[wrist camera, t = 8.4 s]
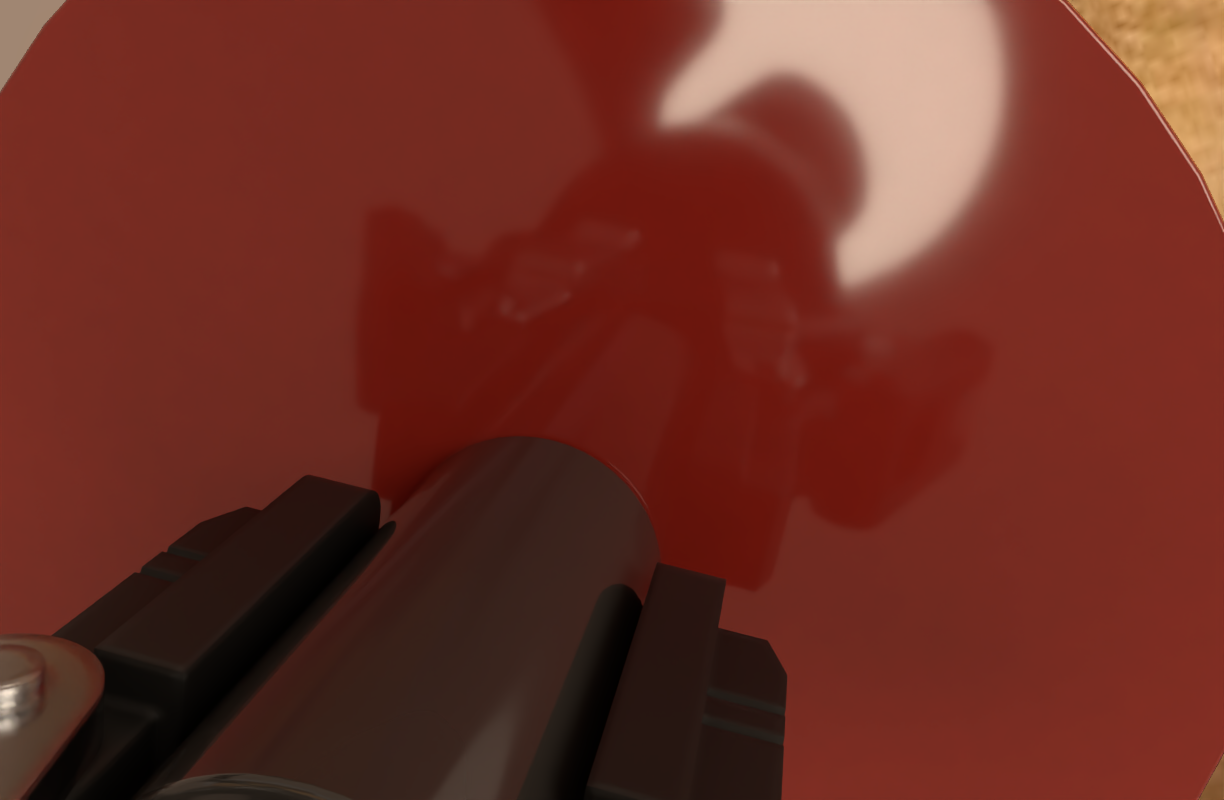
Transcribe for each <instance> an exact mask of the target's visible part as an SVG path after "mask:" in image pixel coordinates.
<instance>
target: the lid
mask: <svg viewBox="0 0 1224 800" xmlns="http://www.w3.org/2000/svg"><path fill="white" fill-rule="evenodd" d="M305 475H313V476H317V477H321V478H325V479H329V480H333V481H337V482H341V483H345V484H349V485H353V486H357V487H361V488H365V489H369V490H373V491H376V492H377V493H378V495H379V498H380V504H381V513H380V524H379V530H378V531H377V532H376V533H375V534H374V535H373V536H372V537H371V538H370V540H369V541H368V542H367V543H366V544H365V545H364V546H363V547H362V548H361V549H360V550H359V551H358V553H357V554H356V555H355V556H354V557H353V558H352V559H351V560H350V561H349V562H348V563H347V564H346V566H345V567H344V568H343V569H342V570H341V571H340V572H339V573H338V574H337V575H336V576H335V577H334V578H333V580H332V581H331V582H330V583H329V584H328V585H327V586H326V587H325V588H324V589H323V590H322V591H321V593H320V594H319V595H318V596H317V597H316V598H315V599H314V600H313V601H312V602H311V603H310V604H309V605H308V607H307V608H306V609H305V610H304V611H303V612H302V613H301V614H300V615H299V616H298V617H297V618H296V620H295V621H294V622H293V623H292V624H291V625H290V626H289V627H288V628H287V629H286V630H285V631H284V632H283V634H282V635H281V636H280V637H279V638H278V639H277V640H276V641H275V642H274V643H273V644H272V645H271V647H270V648H269V649H268V650H267V651H266V652H265V653H264V654H263V655H262V656H261V657H260V658H259V660H258V661H257V662H256V663H255V664H254V665H253V666H252V667H251V668H250V669H249V670H248V671H247V672H246V674H245V675H244V676H243V677H242V678H241V679H240V680H239V681H238V682H237V683H236V684H235V685H234V687H233V688H232V689H231V690H230V691H229V692H228V693H227V694H226V695H225V696H224V697H223V698H222V699H221V701H220V702H219V703H218V704H217V705H216V706H215V707H214V708H213V709H212V710H211V711H210V712H209V714H208V715H207V716H206V717H205V718H204V719H203V720H202V721H201V722H200V723H199V724H198V725H197V726H196V728H195V729H194V730H193V731H192V732H191V733H190V734H189V735H188V736H187V737H186V738H185V739H184V741H183V742H182V743H181V744H180V745H179V746H178V747H177V748H176V749H175V750H174V751H173V752H172V754H171V755H170V756H169V757H168V758H167V759H166V760H165V761H164V762H163V763H162V764H161V765H160V766H159V768H158V769H157V770H156V771H155V772H154V773H153V774H152V775H151V776H150V777H149V778H148V779H147V781H146V782H145V783H144V784H143V785H142V786H141V787H140V788H139V789H138V790H137V791H136V792H135V793H134V795H133V796H132V797H131V798H130V799H129V800H583V799H584V794H585V789H586V785H587V782H588V778H589V775H590V772H591V769H592V766H593V763H594V759H595V756H596V753H597V750H598V747H599V744H600V741H601V737H602V734H603V731H604V728H605V725H606V722H607V718H608V715H609V712H610V709H611V706H612V703H613V699H614V696H615V693H616V690H617V687H618V684H619V680H620V677H621V674H622V671H623V668H624V665H625V662H626V658H627V655H628V652H629V649H630V646H631V643H632V639H633V636H634V633H635V630H636V627H637V624H638V620H639V617H640V614H641V611H642V608H643V605H644V601H645V598H646V595H647V592H648V589H649V586H650V583H651V579H652V576H653V573H654V570H655V567H656V564H657V562H659V563H663V564H667V565H671V566H675V567H679V568H683V569H687V570H691V571H695V572H699V573H703V574H707V575H711V576H715V577H719V578H723V579H726V586H725V591H724V597H723V603H722V609H721V614H720V620H719V626H718V628H721V629H725V630H729V631H733V632H737V633H741V634H745V635H749V636H753V637H757V638H761V639H764V640H768V642H769V643H770V645H771V647H772V649H773V650H774V652H775V654H776V656H777V657H778V659H779V661H780V663H781V665H782V666H783V668H784V670H785V672H786V673H787V694H786V710H785V715H784V716H785V735H784V742H783V746H784V756H783V777H782V798H781V800H1198V799H1199V797H1200V796H1201V794H1202V792H1203V790H1204V788H1205V786H1206V785H1207V783H1208V781H1209V779H1210V777H1211V776H1212V774H1213V772H1214V770H1215V768H1216V766H1217V765H1218V763H1219V761H1220V759H1221V757H1222V756H1223V754H1224V220H1223V218H1222V216H1221V214H1220V212H1219V210H1218V207H1217V205H1216V203H1215V201H1214V199H1213V197H1212V194H1211V192H1210V190H1209V188H1208V186H1207V184H1206V181H1205V179H1204V177H1203V175H1202V173H1201V171H1200V170H1199V168H1198V167H1197V165H1196V164H1195V162H1194V161H1193V159H1192V158H1191V156H1190V155H1189V153H1188V152H1187V150H1186V149H1185V147H1184V146H1183V144H1182V143H1181V141H1180V140H1179V138H1178V137H1177V135H1176V134H1175V132H1174V131H1173V129H1172V128H1171V126H1170V125H1169V123H1168V122H1167V120H1166V118H1165V117H1164V115H1163V114H1162V112H1161V111H1160V109H1159V108H1158V106H1157V105H1156V103H1155V102H1154V100H1153V99H1152V97H1151V96H1150V94H1149V93H1148V91H1147V90H1146V88H1145V87H1144V85H1143V84H1142V82H1141V81H1140V80H1139V79H1138V78H1137V77H1136V76H1135V74H1134V73H1133V72H1132V71H1131V70H1130V69H1129V68H1128V67H1127V66H1126V64H1125V63H1124V62H1123V61H1122V60H1121V59H1120V58H1119V57H1118V56H1117V55H1116V53H1115V52H1114V51H1113V50H1112V49H1111V48H1110V47H1109V46H1108V45H1107V43H1106V42H1105V41H1104V40H1103V39H1102V38H1101V37H1100V36H1099V35H1098V34H1097V32H1096V31H1095V30H1094V29H1093V28H1092V27H1091V26H1090V25H1089V24H1088V23H1087V21H1086V20H1085V19H1084V18H1083V17H1082V16H1081V15H1080V14H1079V13H1078V11H1077V10H1076V9H1075V8H1074V7H1073V6H1072V5H1071V4H1070V3H1069V2H1068V0H66V1H65V2H64V3H63V5H62V6H61V7H60V8H59V9H58V10H57V11H56V12H55V13H54V15H53V16H52V17H51V18H50V19H49V20H48V21H47V22H46V23H45V25H44V26H43V27H42V29H41V31H40V32H39V33H38V35H37V37H36V38H35V40H34V41H33V43H32V44H31V46H30V47H29V49H28V50H27V52H26V53H25V55H24V56H23V58H22V59H21V61H20V62H19V64H18V66H17V67H16V69H15V70H14V72H13V73H12V75H11V76H10V78H9V79H8V81H7V82H6V84H5V85H4V87H3V88H2V90H1V92H0V635H2V634H15V633H25V634H42V635H50V636H51V635H53V634H54V633H55V632H57V631H58V630H59V629H61V628H62V627H63V626H64V625H66V624H67V623H68V622H70V621H71V620H72V619H74V618H75V617H76V616H78V615H79V614H80V613H82V612H83V611H84V610H86V609H87V608H88V607H89V606H91V605H92V604H93V603H95V602H96V601H97V600H99V599H100V598H101V597H103V596H104V595H105V594H107V593H108V592H109V591H111V590H112V589H113V588H115V587H116V586H117V585H118V584H120V583H121V582H122V581H124V580H125V579H126V578H128V577H129V576H130V575H132V574H133V573H134V572H136V573H140V571H141V569H142V566H144V565H145V564H146V563H147V562H149V561H150V560H151V559H153V558H154V557H155V556H157V555H158V554H159V553H161V552H167V550H168V547H169V546H170V545H171V544H172V543H174V542H175V541H176V540H178V539H179V538H180V537H182V536H183V535H184V534H186V533H187V532H188V531H190V530H191V529H192V528H194V527H195V526H196V525H198V524H199V523H200V522H203V521H206V520H209V519H211V518H214V517H217V516H220V515H223V514H226V513H229V512H232V511H235V510H237V509H240V508H243V507H250V508H254V509H258V510H263V509H264V508H265V507H266V506H268V505H269V504H270V503H271V502H273V501H274V500H275V499H276V498H277V497H279V496H280V495H281V494H282V493H283V492H285V491H286V490H287V489H288V488H290V487H291V486H292V485H293V484H294V483H296V482H297V481H298V480H299V479H301V478H302V477H304V476H305Z"/></svg>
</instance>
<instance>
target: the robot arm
mask: <svg viewBox="0 0 1224 800" xmlns="http://www.w3.org/2000/svg"><path fill="white" fill-rule="evenodd" d="M380 513H381V504H380V498H379V495H378V493H377V492H376V491H373V490H369V489H365V488H361V487H357V486H353V485H349V484H345V483H341V482H337V481H333V480H329V479H325V478H321V477H317V476H313V475H305V476H304V477H302V478H301V479H299V480H298V481H297V482H296V483H294V484H293V485H292V486H291V487H290V488H288V489H287V490H286V491H285V492H283V493H282V494H281V495H280V496H279V497H277V498H276V499H275V500H274V501H273V502H271V503H270V504H269V505H268V506H266V507H265V508H264V509H263V510H258V509H254V508H250V507H243V508H240V509H237V510H235V511H232V512H229V513H226V514H223V515H220V516H217V517H214V518H211V519H209V520H206V521H203V522H200V523H199V524H198V525H196V526H195V527H194V528H192V529H191V530H190V531H188V532H187V533H186V534H184V535H183V536H182V537H180V538H179V539H178V540H176V541H175V542H174V543H172V544H171V545H170V546H169V547H168V550H167V552H161V553H159V554H158V555H157V556H155V557H154V558H153V559H151V560H150V561H149V562H147V563H146V564H145V565H144V566H142V569H141V571H140V573H136V572H134V573H133V574H132V575H130V576H129V577H128V578H126V579H125V580H124V581H122V582H121V583H120V584H118V585H117V586H116V587H115V588H113V589H112V590H111V591H109V592H108V593H107V594H105V595H104V596H103V597H101V598H100V599H99V600H97V601H96V602H95V603H93V604H92V605H91V606H89V607H88V608H87V609H86V610H84V611H83V612H82V613H80V614H79V615H78V616H76V617H75V618H74V619H72V620H71V621H70V622H68V623H67V624H66V625H64V626H63V627H62V628H61V629H59V630H58V631H57V632H55V633H54V634H53V635H51V636H50V635H42V634H25V633H15V634H2V635H0V800H129V799H130V798H131V797H132V796H133V795H134V793H135V792H136V791H137V790H138V789H139V788H140V787H141V786H142V785H143V784H144V783H145V782H146V781H147V779H148V778H149V777H150V776H151V775H152V774H153V773H154V772H155V771H156V770H157V769H158V768H159V766H160V765H161V764H162V763H163V762H164V761H165V760H166V759H167V758H168V757H169V756H170V755H171V754H172V752H173V751H174V750H175V749H176V748H177V747H178V746H179V745H180V744H181V743H182V742H183V741H184V739H185V738H186V737H187V736H188V735H189V734H190V733H191V732H192V731H193V730H194V729H195V728H196V726H197V725H198V724H199V723H200V722H201V721H202V720H203V719H204V718H205V717H206V716H207V715H208V714H209V712H210V711H211V710H212V709H213V708H214V707H215V706H216V705H217V704H218V703H219V702H220V701H221V699H222V698H223V697H224V696H225V695H226V694H227V693H228V692H229V691H230V690H231V689H232V688H233V687H234V685H235V684H236V683H237V682H238V681H239V680H240V679H241V678H242V677H243V676H244V675H245V674H246V672H247V671H248V670H249V669H250V668H251V667H252V666H253V665H254V664H255V663H256V662H257V661H258V660H259V658H260V657H261V656H262V655H263V654H264V653H265V652H266V651H267V650H268V649H269V648H270V647H271V645H272V644H273V643H274V642H275V641H276V640H277V639H278V638H279V637H280V636H281V635H282V634H283V632H284V631H285V630H286V629H287V628H288V627H289V626H290V625H291V624H292V623H293V622H294V621H295V620H296V618H297V617H298V616H299V615H300V614H301V613H302V612H303V611H304V610H305V609H306V608H307V607H308V605H309V604H310V603H311V602H312V601H313V600H314V599H315V598H316V597H317V596H318V595H319V594H320V593H321V591H322V590H323V589H324V588H325V587H326V586H327V585H328V584H329V583H330V582H331V581H332V580H333V578H334V577H335V576H336V575H337V574H338V573H339V572H340V571H341V570H342V569H343V568H344V567H345V566H346V564H347V563H348V562H349V561H350V560H351V559H352V558H353V557H354V556H355V555H356V554H357V553H358V551H359V550H360V549H361V548H362V547H363V546H364V545H365V544H366V543H367V542H368V541H369V540H370V538H371V537H372V536H373V535H374V534H375V533H376V532H377V531H378V530H379V524H380ZM725 586H726V579H723V578H719V577H715V576H711V575H707V574H703V573H699V572H695V571H691V570H687V569H683V568H679V567H675V566H671V565H667V564H663V563H659V562H657V564H656V567H655V570H654V573H653V576H652V579H651V583H650V586H649V589H648V592H647V595H646V598H645V601H644V605H643V608H642V611H641V614H640V617H639V620H638V624H637V627H636V630H635V633H634V636H633V639H632V643H631V646H630V649H629V652H628V655H627V658H626V662H625V665H624V668H623V671H622V674H621V677H620V680H619V684H618V687H617V690H616V693H615V696H614V699H613V703H612V706H611V709H610V712H609V715H608V718H607V722H606V725H605V728H604V731H603V734H602V737H601V741H600V744H599V747H598V750H597V753H596V756H595V759H594V763H593V766H592V769H591V772H590V775H589V778H588V782H587V785H586V789H585V794H584V799H583V800H781V798H782V777H783V756H784V746H783V742H784V735H785V716H784V715H785V710H786V694H787V673H786V672H785V670H784V668H783V666H782V665H781V663H780V661H779V659H778V657H777V656H776V654H775V652H774V650H773V649H772V647H771V645H770V643H769V642H768V640H764V639H761V638H757V637H753V636H749V635H745V634H741V633H737V632H733V631H729V630H725V629H721V628H718V626H719V620H720V614H721V609H722V603H723V597H724V591H725Z"/></svg>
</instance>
